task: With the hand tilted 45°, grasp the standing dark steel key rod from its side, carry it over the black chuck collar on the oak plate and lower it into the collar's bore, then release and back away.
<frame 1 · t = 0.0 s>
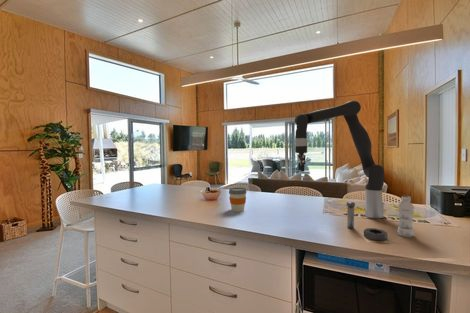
hand: (301, 170, 157), 29 cm above the kitchen island, tool pointing down, fingers open, 8 cm apart
oak base plate: (375, 239, 116), on the kitchen island
steel key rod: (350, 229, 131), on the kitchen island
chuck collar: (375, 237, 116), resting on oak base plate
reusable coffee cup: (237, 210, 175), on the kitchen island
plastic bottle: (405, 237, 119), on the kitchen island
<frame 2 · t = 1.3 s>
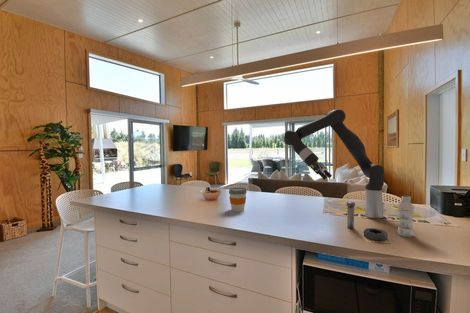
hand: (328, 177, 137), 27 cm above the kitchen island, tool tilted 45°, fingers open, 8 cm apart
nothing on the kitchen island moved.
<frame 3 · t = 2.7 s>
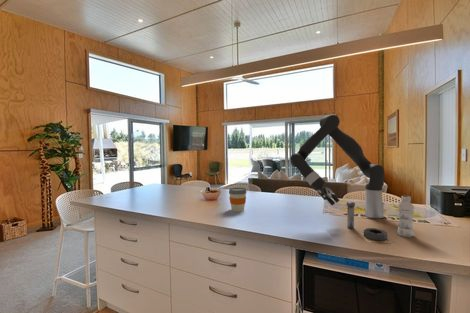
hand: (336, 203, 135), 13 cm above the kitchen island, tool tilted 45°, fingers open, 8 cm apart
nothing on the kitchen island moved.
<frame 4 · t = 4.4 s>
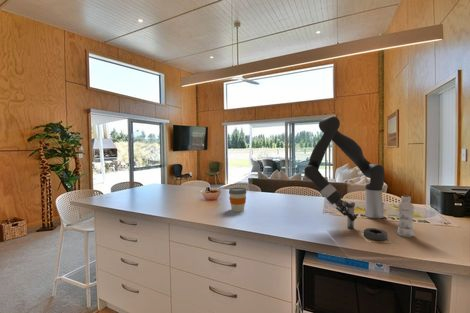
hand: (354, 219, 129), 6 cm above the kitchen island, tool tilted 45°, fingers closed on steel key rod, 3 cm apart
steel key rod: (350, 229, 131), on the kitchen island, touching gripper
everything else where it was.
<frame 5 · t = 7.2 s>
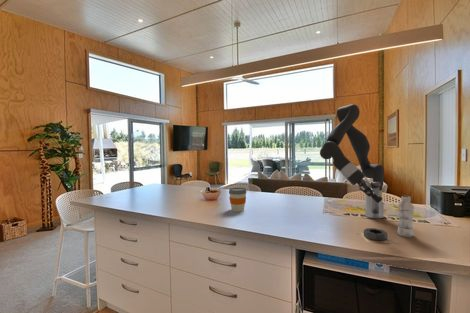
hand: (380, 200, 115), 19 cm above the kitchen island, tool tilted 45°, fingers closed on steel key rod, 3 cm apart
steel key rod: (375, 212, 116), point 13 cm above the kitchen island, touching gripper
everything else where it was.
when the fingers open (8 cm above the kitchen island, at t = 9.5 s): steel key rod stays where it is, resting on oak base plate.
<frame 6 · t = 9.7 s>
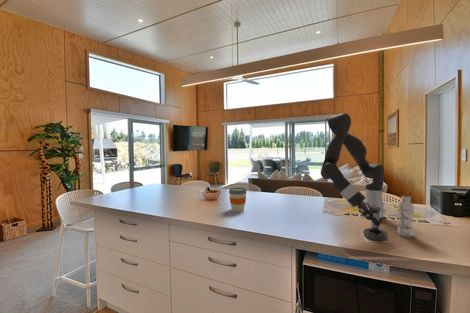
hand: (379, 223, 115), 8 cm above the kitchen island, tool tilted 45°, fingers open, 5 cm apart
steel key rod: (375, 237, 116), point 1 cm above the kitchen island, touching oak base plate
everything else where it was.
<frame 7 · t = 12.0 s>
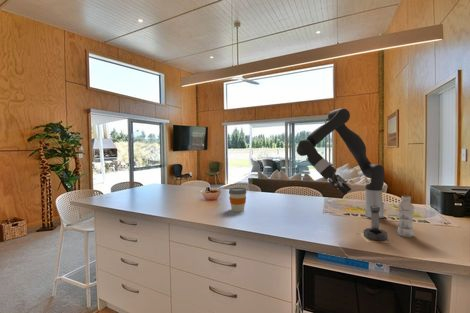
hand: (348, 192, 125), 21 cm above the kitchen island, tool tilted 45°, fingers open, 8 cm apart
nothing on the kitchen island moved.
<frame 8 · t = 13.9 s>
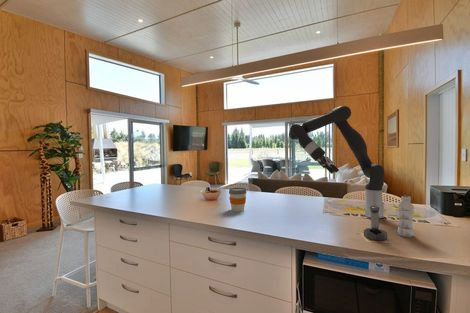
hand: (335, 172, 133), 31 cm above the kitchen island, tool tilted 45°, fingers open, 8 cm apart
nothing on the kitchen island moved.
at the end: steel key rod 0.1 cm off-centre on the chuck collar, point 0.0 cm above the chuck collar's base; steel key rod tilted 1°; the gripper is holding nothing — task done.
